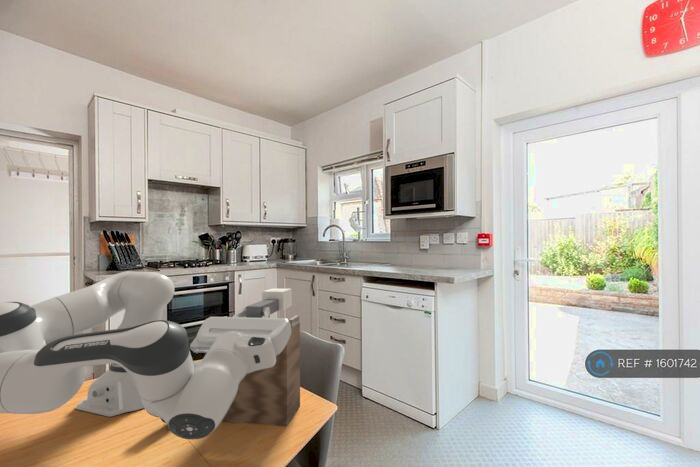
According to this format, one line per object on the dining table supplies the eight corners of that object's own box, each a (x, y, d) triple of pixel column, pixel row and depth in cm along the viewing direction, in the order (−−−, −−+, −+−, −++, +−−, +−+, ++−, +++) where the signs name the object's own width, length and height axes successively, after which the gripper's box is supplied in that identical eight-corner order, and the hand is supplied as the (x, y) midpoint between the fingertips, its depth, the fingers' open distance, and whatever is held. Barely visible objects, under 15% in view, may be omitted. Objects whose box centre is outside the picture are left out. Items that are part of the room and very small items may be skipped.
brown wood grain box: (221, 421, 87) (222, 322, 88) (241, 402, 98) (242, 313, 99) (287, 426, 84) (286, 323, 86) (300, 405, 95) (299, 315, 96)
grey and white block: (241, 319, 78) (241, 297, 78) (272, 305, 97) (272, 288, 97) (265, 319, 77) (265, 298, 77) (291, 305, 96) (291, 288, 96)
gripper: (190, 362, 71) (220, 318, 83) (281, 366, 68) (299, 320, 80) (181, 340, 68) (214, 298, 80) (276, 344, 65) (295, 299, 77)
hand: (257, 309), depth 80 cm, fingers closed on grey and white block, 3 cm apart
